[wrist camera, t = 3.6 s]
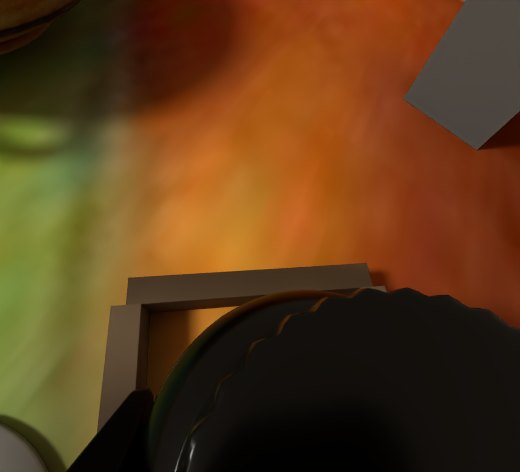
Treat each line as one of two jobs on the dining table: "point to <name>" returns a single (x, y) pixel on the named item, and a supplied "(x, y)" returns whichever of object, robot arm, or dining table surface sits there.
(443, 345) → the supplement bottle
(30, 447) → the coaster
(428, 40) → the dining table surface
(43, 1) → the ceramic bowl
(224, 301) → the wooden u-shaped frame
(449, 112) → the perfume bottle
